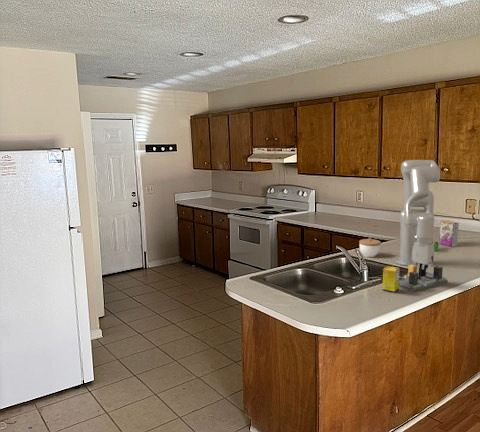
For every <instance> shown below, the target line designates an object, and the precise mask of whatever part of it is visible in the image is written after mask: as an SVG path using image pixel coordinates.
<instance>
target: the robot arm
mask: <svg viewBox="0 0 480 432" xmlns="http://www.w3.org/2000/svg"><path fill="white" fill-rule="evenodd" d="M400 172H401V175H402V179H403V209H402V210H401V211H400V213H399V222H400V223H399V224H400V232H399V233H400V234H399V235H400V236H399V237H400V238H399V254H398V258H397V259H395V262H396V264H398V265H401V266H402V265H403V266H408V265H415V266H417V269H418V272H419V277H424V276H426V272H427V269H428V268H434V265H433V264H434V262H435V252H434V245H433V242H434V227H435V216H434V206H435V205H434V204H435V197H434V193H433V191H431V190H430V188H429V187H430V186H429V183H438V182H439V181H440V179H441V170H440V168H439V166H438V164H437V163H436V161H435V160H432V159H408V160H407V159H406V160H404V161H403V162H401V165H400ZM414 208H415V209H414ZM418 208H423V209H418Z"/></svg>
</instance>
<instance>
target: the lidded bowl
mask: <svg viewBox="0 0 480 432" xmlns="http://www.w3.org/2000/svg"><path fill="white" fill-rule="evenodd" d="M358 242H359V251H360V254H362V255H363V256H364V257H366V258H375V257H376V256H377V255H378V254H379V253H380V251H381V241H380V240H378V239H372V238H371V237H369V238H363V239H360V240H359V241H358Z"/></svg>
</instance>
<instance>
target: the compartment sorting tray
mask: <svg viewBox="0 0 480 432" xmlns="http://www.w3.org/2000/svg"><path fill="white" fill-rule="evenodd" d="M443 270H444V269H443V267H442V266H440V265H436V266H433V271H432V272H433V273H431V272H427V271H426V276H424V277H419V271H417V272H409V276H408V274H403V277H402V276H399V288H400V289H403V290H406V291H409V292H413V293H414V292H418V291H421V290H424V289H429V288H432V287H436V286H440V285H443V284H448V283H449V280H448V279H447V277H444V276H443Z"/></svg>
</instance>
